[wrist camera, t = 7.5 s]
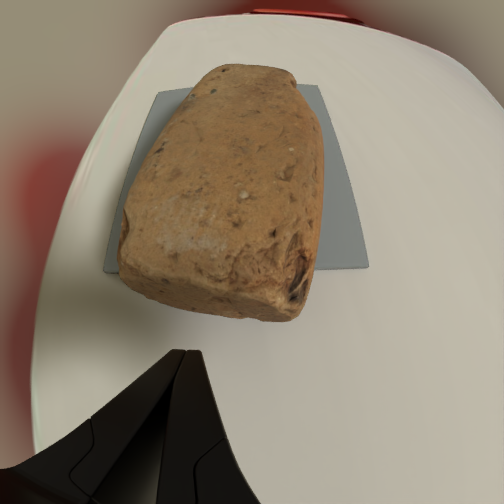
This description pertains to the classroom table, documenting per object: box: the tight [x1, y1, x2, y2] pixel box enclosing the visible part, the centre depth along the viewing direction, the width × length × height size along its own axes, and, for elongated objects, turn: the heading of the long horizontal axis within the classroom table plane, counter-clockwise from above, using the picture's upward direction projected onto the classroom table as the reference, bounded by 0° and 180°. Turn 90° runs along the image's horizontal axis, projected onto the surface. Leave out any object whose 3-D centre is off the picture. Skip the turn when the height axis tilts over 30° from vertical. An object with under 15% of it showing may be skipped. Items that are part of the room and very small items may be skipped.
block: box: [117, 64, 324, 322], centre depth 18 cm, size 11×8×20 cm
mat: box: [103, 84, 369, 273], centre depth 24 cm, size 20×24×1 cm
